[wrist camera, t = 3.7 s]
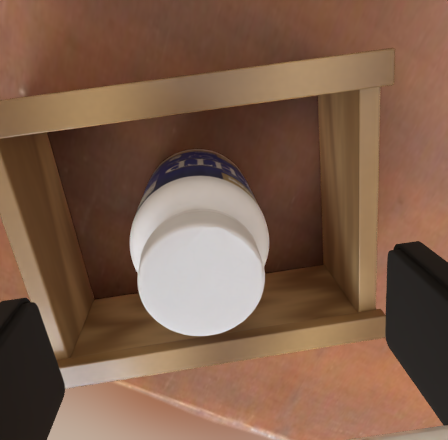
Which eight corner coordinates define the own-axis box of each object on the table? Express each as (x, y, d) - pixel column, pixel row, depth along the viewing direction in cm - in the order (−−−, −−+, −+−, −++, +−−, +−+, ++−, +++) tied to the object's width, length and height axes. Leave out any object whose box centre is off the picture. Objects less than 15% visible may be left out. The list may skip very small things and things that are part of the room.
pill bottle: (261, 162, 20) (312, 227, 12) (232, 253, 22) (259, 366, 13) (157, 134, 19) (134, 183, 11) (136, 231, 21) (101, 339, 12)
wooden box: (81, 316, 22) (49, 392, 17) (14, 96, 18) (-57, 107, 13) (340, 277, 23) (386, 338, 18) (336, 54, 18) (395, 47, 13)
